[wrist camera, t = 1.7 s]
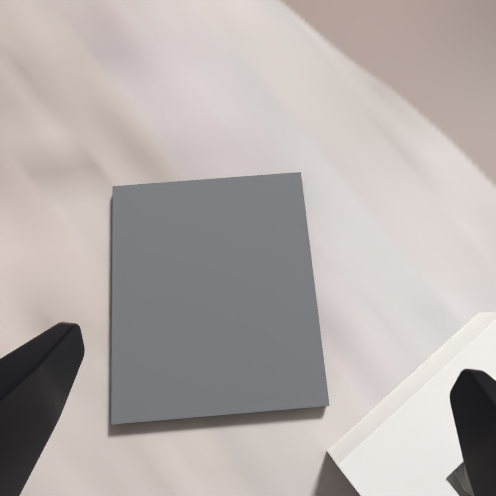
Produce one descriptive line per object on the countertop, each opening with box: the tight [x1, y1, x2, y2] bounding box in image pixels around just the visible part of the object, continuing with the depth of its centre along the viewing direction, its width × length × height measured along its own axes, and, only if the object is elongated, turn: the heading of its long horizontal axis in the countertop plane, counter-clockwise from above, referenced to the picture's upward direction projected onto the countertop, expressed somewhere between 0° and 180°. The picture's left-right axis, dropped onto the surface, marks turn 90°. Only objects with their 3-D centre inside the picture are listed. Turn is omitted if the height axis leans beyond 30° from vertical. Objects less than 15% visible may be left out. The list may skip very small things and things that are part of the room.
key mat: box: [111, 172, 329, 424], centre depth 23 cm, size 14×12×1 cm
